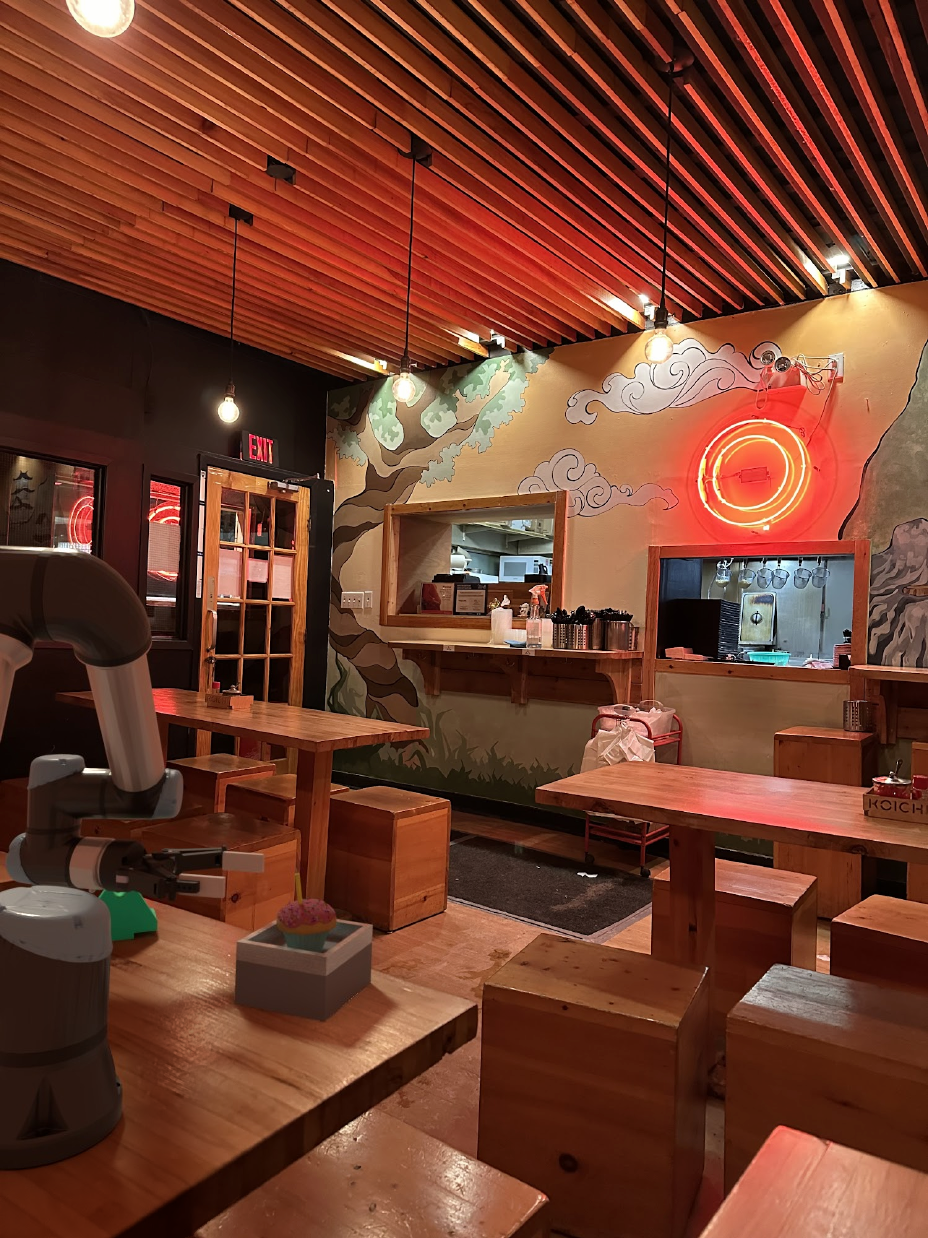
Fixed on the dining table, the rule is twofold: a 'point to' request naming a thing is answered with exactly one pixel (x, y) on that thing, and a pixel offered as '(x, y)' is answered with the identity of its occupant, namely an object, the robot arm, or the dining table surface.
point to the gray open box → (302, 985)
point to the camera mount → (128, 914)
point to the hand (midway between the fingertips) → (245, 875)
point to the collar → (264, 953)
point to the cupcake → (306, 921)
